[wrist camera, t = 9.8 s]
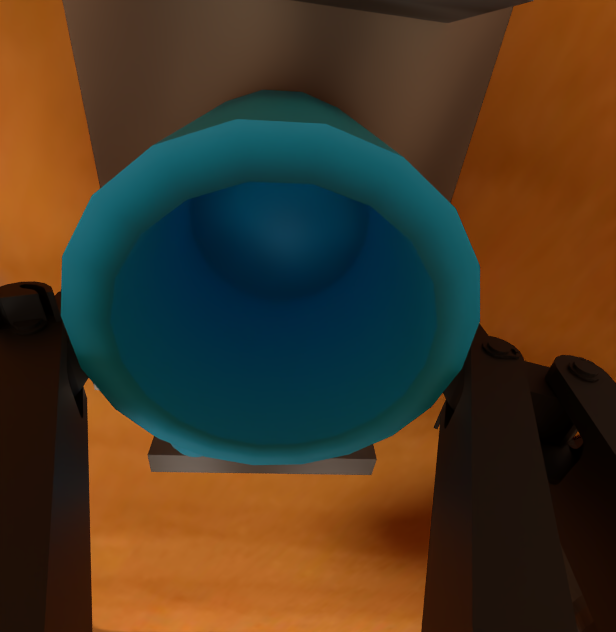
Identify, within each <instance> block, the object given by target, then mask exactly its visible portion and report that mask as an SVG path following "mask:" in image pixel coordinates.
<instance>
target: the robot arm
mask: <svg viewBox="0 0 616 632" xmlns="http://www.w3.org/2000/svg"><path fill="white" fill-rule="evenodd" d="M88 378H89V377H88V376H87V375H86V373H85V372H84V371H83V370H82V369H81V367H80V364H79V362H78V359H77V357H76V354H75V352H74V349H73V346H72V344H71V341H70V339H69V336H68V333H67V331H66V328H65V326H64V323H63V320H62V318H61V292H58V293H57V294H56V295H55V296H54V293H53V290H52V288H51V286H49V285H47V284H45V283H40V282H18V283H12V284H7V285H4V286H1V287H0V632H92V596H91V552H90V508H89V465H88V421H87V397H86V394H85V390H84V387H83V386H84V384H85V382H86V381H87V379H88ZM93 384H94V383H93ZM94 388H95V390H99V389H98V388H97V387H96V385H95V384H94ZM443 394H444V396H445V398H446V401H445V403H444V405H443V407H442V410H441V412H440V414H439V416H438V419H437V421H436V423H435V425H434V428H435V429H438V427H439V425H440V430H439V441H438V452H437V463H436V475H435V486H434V497H433V508H432V519H431V530H430V541H429V552H428V563H427V575H426V586H425V597H424V608H423V619H422V630H421V632H616V383H615V382H614V381H613V379H612V378H611V377H610V376H609V375H608V374H607V373H606V372H605V371H604V370H603V369H601V368H600V367H598V366H597V365H595V364H594V363H593V362H591V361H589V360H586V359H584V358H581V357H575V356H571V355H561V356H558V357H556V359H555V360H554V362H553V364H552V365H551V367H546V366H542V365H538V364H534V363H530V362H526V361H524V359H523V356H522V354H521V352H520V351H519V350H518V349H517V348H515V347H514V346H513V345H511V344H510V343H508V342H506V341H504V340H502V339H499V338H496V337H492V336H488V334H487V333H486V332H485V330H484V329H483V328H482V327H481V325H480V324H479V325H478V328H477V330H476V333H475V336H474V338H473V341H472V343H471V346H470V349H469V351H468V354H467V357H466V359H465V362H464V365H463V367H462V369H461V370H460V372H459V373H458V374H457V375H456V377H455V378H454V379H453V380H452V382H451V383H450V384H449V385H448V387H447V388H446V389H445V390H444V392H443ZM577 432H579V433H580V435H581V437H582V438H579V439H576V440H573V439H572V438H573V437H574V436H575V434H576V433H577Z"/></svg>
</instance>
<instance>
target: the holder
mask: <svg viewBox="0 0 616 632" xmlns="http://www.w3.org/2000/svg"><path fill="white" fill-rule="evenodd" d="M531 1H533V0H63V5H64V10H65V15H66V20H67V25H68V30H69V35H70V40H71V45H72V50H73V55H74V60H75V65H76V70H77V75H78V80H79V85H80V89H81V94H82V99H83V104H84V109H85V114H86V119H87V124H88V129H89V134H90V139H91V144H92V149H93V154H94V159H95V164H96V169H97V174H98V179H99V184H100V188H102V187H103V186H104V185H105V184H106V183H108V182H109V181H110V180H111V179H112V178H114V177H115V176H116V175H117V174H118V173H120V172H121V171H122V170H123V169H125V168H126V167H127V166H128V165H129V164H131V163H132V162H133V161H134V160H135V159H137V158H138V157H139V156H140V155H141V154H143V153H144V152H145V151H146V150H147V149H149V148H150V147H151V146H152V145H154V144H156V143H157V142H159V141H161V140H162V139H164V138H166V137H167V136H169V135H171V134H172V133H174V132H176V131H177V130H179V129H181V128H182V127H184V126H186V125H187V124H189V123H191V122H192V121H194V120H196V119H197V118H199V117H201V116H202V115H204V114H206V113H207V112H209V111H211V110H212V109H214V108H216V107H217V106H219V105H221V104H222V103H224V102H226V101H229V100H232V99H235V98H238V97H241V96H245V95H248V94H251V93H254V92H257V91H260V90H277V91H295V92H303V93H306V94H308V95H310V96H312V97H315V98H317V99H319V100H321V101H324V102H326V103H328V104H330V105H333V106H335V107H337V108H339V109H340V110H341V111H343V112H344V113H345V114H347V115H348V116H349V117H351V118H352V119H353V120H355V121H356V122H357V123H359V124H360V125H361V126H363V127H364V128H365V129H367V130H368V131H369V132H371V133H372V134H373V135H375V136H376V137H377V138H379V139H380V140H381V141H383V142H384V143H385V144H387V145H388V146H389V147H391V148H392V149H393V150H395V151H396V152H397V153H399V154H400V155H402V156H403V157H404V158H405V159H406V160H407V161H408V162H409V163H410V164H411V165H412V166H413V167H414V168H415V169H416V170H417V171H418V172H419V173H420V174H421V175H422V176H423V177H424V178H425V179H426V180H427V181H428V182H429V183H430V184H431V185H432V186H433V187H434V188H436V189H437V190H438V191H439V192H440V193H441V194H442V195H443V196H444V197H445V198H446V199H447V200H448V201H449V202H450V203H451V199H452V196H453V193H454V190H455V187H456V184H457V181H458V178H459V174H460V171H461V168H462V165H463V162H464V159H465V156H466V153H467V150H468V146H469V143H470V140H471V137H472V134H473V131H474V128H475V125H476V121H477V118H478V115H479V112H480V109H481V106H482V103H483V100H484V97H485V93H486V90H487V87H488V84H489V81H490V78H491V75H492V72H493V68H494V65H495V62H496V59H497V56H498V53H499V50H500V47H501V44H502V40H503V37H504V34H505V31H506V28H507V25H508V22H509V19H510V15H511V12H512V9H513V6H516V5H519V4H523V3H527V2H531ZM148 459H149V463H150V468H151V472H209V473H277V474H344V475H371V474H372V471H373V468H374V465H375V463H376V460H377V459H376V455H375V450H374V446H373V444H372V445H369V446H367V447H365V448H362V449H360V450H358V451H356V452H353V453H351V454H349V455H344V456H339V457H334V458H330V459H325V460H320V461H315V462H311V463H306V464H296V465H249V464H243V463H238V462H232V461H226V460H221V459H215V458H209V457H204V456H202V457H189V456H186V455H184V454H182V453H180V452H179V451H178V450H176V449H175V448H174V447H173V446H172V445H171V443H169V442H166V441H164V440H161V439H159V438H157V437H155V436H154V438H153V441H152V444H151V447H150V450H149V453H148Z"/></svg>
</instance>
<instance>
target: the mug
mask: <svg viewBox="0 0 616 632" xmlns="http://www.w3.org/2000/svg"><path fill="white" fill-rule="evenodd" d="M61 318H62V320H63V323H64V326H65V328H66V331H67V333H68V336H69V339H70V341H71V344H72V346H73V349H74V352H75V354H76V357H77V359H78V362H79V364H80V367H81V369H82V370H83V371H84V372H85V373H86V375H87V376H88V377H89V378H90V379H91V381H92V382H93V383H94V384H95V385H96V387H97V388H98V389H99V390H100V391H101V393H102V394H103V395H104V396H105V397H106V399H107V400H108V401H109V402H110V403H111V405H112V406H113V407H114V408H115V409H116V410H118V411H119V412H121V413H122V414H123V415H125V416H126V417H128V418H129V419H131V420H132V421H134V422H135V423H136V424H138V425H139V426H141V427H142V428H144V429H145V430H147V431H148V432H149V433H151V434H152V435H154V436H155V437H157V438H159V439H161V440H164V441H166V442H169V443H171V445H172V446H173V447H174V448H175V449H176V450H178V451H179V452H180V453H182V454H184V455H186V456H189V457H202V456H204V457H209V458H215V459H221V460H226V461H232V462H238V463H243V464H249V465H296V464H306V463H311V462H315V461H320V460H325V459H330V458H334V457H339V456H344V455H349V454H351V453H353V452H356V451H358V450H360V449H362V448H365V447H367V446H369V445H372V444H374V443H376V442H379V441H381V440H383V439H385V438H388V437H390V436H392V435H394V434H395V433H397V432H398V431H399V430H401V429H402V428H403V427H405V426H406V425H407V424H409V423H410V422H412V421H413V420H414V419H416V418H417V417H418V416H420V415H421V414H422V413H424V412H425V411H426V410H428V409H429V408H430V407H432V405H433V404H434V403H435V402H436V400H437V399H438V398H439V397H440V395H441V394H442V393H443V392H444V390H445V389H446V388H447V387H448V385H449V384H450V383H451V382H452V380H453V379H454V378H455V377H456V375H457V374H458V373H459V372H460V370H461V369H462V367H463V365H464V362H465V359H466V357H467V354H468V351H469V349H470V346H471V343H472V341H473V338H474V336H475V333H476V330H477V328H478V325H479V322H480V265H479V263H478V260H477V258H476V255H475V253H474V251H473V248H472V246H471V244H470V241H469V239H468V236H467V234H466V232H465V229H464V227H463V225H462V222H461V220H460V217H459V215H458V213H457V210H456V208H455V207H454V206H453V205H452V204H451V203H450V202H449V201H448V200H447V199H446V198H445V197H444V196H443V195H442V194H441V193H440V192H439V191H438V190H437V189H436V188H434V187H433V186H432V185H431V184H430V183H429V182H428V181H427V180H426V179H425V178H424V177H423V176H422V175H421V174H420V173H419V172H418V171H417V170H416V169H415V168H414V167H413V166H412V165H411V164H410V163H409V162H408V161H407V160H406V159H405V158H404V157H403V156H402V155H400V154H399V153H397V152H396V151H395V150H393V149H392V148H391V147H389V146H388V145H387V144H385V143H384V142H383V141H381V140H380V139H379V138H377V137H376V136H375V135H373V134H372V133H371V132H369V131H368V130H367V129H365V128H364V127H363V126H361V125H360V124H359V123H357V122H356V121H355V120H353V119H352V118H351V117H349V116H348V115H347V114H345V113H344V112H343V111H341V110H340V109H339V108H337V107H335V106H333V105H330V104H328V103H326V102H324V101H321V100H319V99H317V98H315V97H312V96H310V95H308V94H306V93H303V92H295V91H277V90H260V91H257V92H254V93H251V94H248V95H245V96H241V97H238V98H235V99H232V100H229V101H226V102H224V103H222V104H221V105H219V106H217V107H216V108H214V109H212V110H211V111H209V112H207V113H206V114H204V115H202V116H201V117H199V118H197V119H196V120H194V121H192V122H191V123H189V124H187V125H186V126H184V127H182V128H181V129H179V130H177V131H176V132H174V133H172V134H171V135H169V136H167V137H166V138H164V139H162V140H161V141H159V142H157V143H156V144H154V145H152V146H151V147H150V148H149V149H147V150H146V151H145V152H144V153H143V154H141V155H140V156H139V157H138V158H137V159H135V160H134V161H133V162H132V163H131V164H129V165H128V166H127V167H126V168H125V169H123V170H122V171H121V172H120V173H118V174H117V175H116V176H115V177H114V178H112V179H111V180H110V181H109V182H108V183H106V184H105V185H104V186H103V187H102V188H100V189H99V190H98V191H97V192H96V193H94V194H93V195H92V196H91V199H90V201H89V203H88V205H87V207H86V209H85V211H84V213H83V215H82V217H81V219H80V221H79V223H78V225H77V227H76V229H75V231H74V233H73V235H72V237H71V239H70V241H69V243H68V245H67V247H66V249H65V251H64V253H63V256H62V286H61Z"/></svg>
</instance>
